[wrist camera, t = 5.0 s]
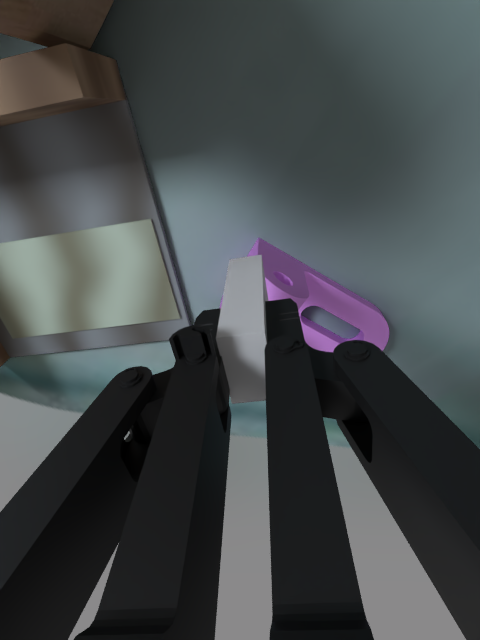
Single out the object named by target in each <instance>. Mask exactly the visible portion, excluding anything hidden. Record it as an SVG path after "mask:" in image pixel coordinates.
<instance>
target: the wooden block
mask: <svg viewBox="0 0 480 640" xmlns="http://www.w3.org/2000/svg"><path fill="white" fill-rule="evenodd" d="M113 2H114V0H0V33H2V34H5V35H9V36H12V37H16V38H19V39H22V40H26V41H29V42H33V43H36V44H40V45H43V46H47V47H52V46H56V45H60V44H64V43H67V44H70V45H73V46H76V47H79V48H82V49H85V50H89V49H90V48H91V46H92V44H93V42H94V40H95V38H96V36H97V34H98V32H99V30H100V28H101V26H102V24H103V22H104V20H105V18H106V16H107V14H108V12H109V10H110V8H111V6H112V4H113Z"/></svg>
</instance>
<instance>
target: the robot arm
mask: <svg viewBox="0 0 480 640" xmlns="http://www.w3.org/2000/svg"><path fill="white" fill-rule="evenodd" d="M169 341H170V344H171V347H172V350H173V353H174V356H175V359H176V362H175V365H174V367H173V368H171V369H169V370H167V371H164V372H161V373H158V374H155V375H152V372H151V370H149V369H148V368H147V367H142V366H139V367H132V368H128V369H126V370H124V371H122V372H120V373H119V374H117V375H116V376H115V377H114V378H113V379H112V380H111V381H110V383H109V384H108V385H107V386H106V387H105V389H104V390H103V391H102V392H101V393H100V394H99V396H98V397H97V398H96V399H95V400H94V402H93V403H92V404H91V405H90V406H89V408H88V409H87V410H86V411H85V412H84V413H83V415H82V416H81V417H80V418H79V419H78V421H77V422H76V423H75V424H74V425H73V427H72V428H71V429H70V430H69V431H68V432H67V434H66V435H65V436H64V437H63V438H62V440H61V441H60V442H59V443H58V444H57V446H56V447H55V448H54V449H53V450H52V451H51V453H50V454H49V455H48V456H47V457H46V459H45V460H44V461H43V462H42V464H41V465H40V466H39V467H38V468H37V469H36V471H35V472H34V473H33V474H32V475H31V476H30V478H29V479H28V480H27V481H26V482H25V484H24V485H23V486H22V487H21V488H20V489H19V491H18V492H17V493H16V494H15V495H14V497H13V498H12V499H11V500H10V501H9V503H8V504H7V505H6V506H5V507H4V509H3V510H2V511H1V512H0V640H68V638H69V636H70V634H71V632H72V630H73V628H74V627H75V625H76V623H77V621H78V619H79V617H80V615H81V613H82V611H83V609H84V608H85V606H86V604H87V602H88V600H89V598H90V596H91V594H92V592H93V590H94V589H95V587H96V585H97V583H98V581H99V579H100V577H101V575H102V573H103V571H104V570H105V568H106V566H107V564H108V562H109V560H110V558H111V556H112V554H113V552H114V550H115V548H116V547H117V545H118V543H119V545H118V548H117V551H116V554H115V558H114V560H113V564H112V567H111V570H110V573H109V577H108V580H107V583H106V587H105V589H104V592H103V596H102V599H101V603H100V606H99V609H98V612H97V614H96V616H95V619H94V621H93V622H92V624H91V626H90V627H89V628H87V629H86V630H85V631H83V632H81V633H80V634H78V635H77V636H76V637H75V638H74V640H214V639H215V626H216V612H217V599H218V586H219V573H220V572H219V571H220V560H221V546H222V533H223V520H224V506H225V492H226V479H227V465H228V453H229V440H230V427H231V411H230V407H229V394H230V397H231V401H232V404H234V403H244V402H254V401H264V400H266V415H267V447H268V478H269V511H270V541H271V575H272V603H273V604H272V605H273V607H272V608H273V609H272V610H273V616H272V625H271V629H270V640H374V638H373V635H372V632H371V629H370V626H369V625H368V622H367V620H366V616H365V612H364V608H363V604H362V599H361V595H360V590H359V585H358V581H357V576H356V571H355V567H354V562H353V558H352V553H351V548H350V543H349V538H348V534H347V529H346V524H345V519H344V515H343V510H342V506H341V501H340V496H339V492H338V487H337V483H336V477H335V473H334V468H333V463H332V459H331V454H330V449H329V444H328V440H327V435H326V430H325V426H324V421H323V417H326V418H332V419H336V420H337V424H338V426H339V427H340V429H341V431H342V432H343V434H344V436H345V437H346V439H347V441H348V442H349V444H350V446H351V447H352V449H353V451H354V452H355V454H356V456H357V457H358V459H359V461H360V462H361V464H362V466H363V467H364V469H365V471H366V472H367V474H368V476H369V478H370V479H371V481H372V482H373V484H374V486H375V487H376V489H377V491H378V493H379V494H380V496H381V497H382V499H383V501H384V503H385V504H386V506H387V507H388V509H389V511H390V513H391V514H392V516H393V518H394V519H395V521H396V523H397V524H398V526H399V528H400V529H401V531H402V533H403V534H404V536H405V538H406V539H407V541H408V543H409V544H410V546H411V548H412V549H413V551H414V553H415V554H416V556H417V558H418V559H419V561H420V563H421V564H422V566H423V568H424V570H425V571H426V573H427V575H428V576H429V578H430V579H431V581H432V583H433V585H434V586H435V588H436V590H437V591H438V593H439V595H440V596H441V598H442V600H443V601H444V603H445V605H446V606H447V608H448V610H449V611H450V613H451V615H452V616H453V618H454V620H455V621H456V623H457V625H458V626H459V628H460V630H461V631H462V633H463V635H464V636H465V638H466V640H480V449H479V448H478V447H477V446H476V445H475V444H474V443H473V442H472V441H471V440H470V439H469V438H468V437H467V436H466V435H465V434H464V433H463V432H462V431H461V430H460V429H459V428H458V427H457V426H456V425H455V424H454V423H453V422H452V421H451V420H450V419H449V418H448V417H447V416H446V415H445V414H444V413H443V412H442V411H441V410H440V409H439V408H438V407H437V406H436V405H435V404H434V403H433V402H432V401H431V400H430V399H429V398H428V397H427V396H426V395H425V394H424V393H423V392H422V391H421V390H420V389H419V388H418V387H417V386H416V385H415V384H414V383H413V382H412V381H411V380H410V379H409V378H408V377H407V376H406V375H405V374H404V373H403V372H402V371H401V370H400V369H399V368H398V367H397V366H396V365H395V364H394V363H393V362H392V361H391V360H390V359H389V357H388V356H387V355H386V354H385V353H384V352H383V351H382V350H381V349H380V348H379V347H377V346H376V345H374V344H373V343H370V342H367V341H363V340H350V341H345V342H343V343H340V344H339V345H337V346H336V347H335V348H334V351H333V352H325V351H319V350H316V349H314V348H312V347H310V346H309V345H308V344H307V343H306V342H305V339H304V335H303V330H302V325H301V321H300V316H299V311H298V306H297V303H296V302H294V301H293V300H292V299H291V298H287V299H280V300H273V301H268V294H267V288H266V281H265V274H264V267H263V261H262V255H255V256H249V257H242V258H236V259H229V265H228V271H227V277H226V283H225V288H224V294H223V300H222V306H221V308H220V309H212V310H205V311H202V312H201V314H200V315H199V316H198V317H197V318H196V321H195V324H194V325H192V326H188V327H184V328H182V329H180V330H178V331H176V332H175V333H174V334H172V336H171V337H170V338H169ZM128 431H130V434H129V436H128V437H127V438H126V440H124V437H125V436H126V434H127V433H128Z"/></svg>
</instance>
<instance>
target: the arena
mask: <svg viewBox="0 0 480 640" xmlns="http://www.w3.org/2000/svg"><path fill="white" fill-rule="evenodd" d="M188 326H191V323H190V320H189V316H188V313H187V309H186V306H185V302H184V299H183V295H182V291H181V288H180V284H179V281H178V277H177V274H176V270H175V267H174V263H173V260H172V256H171V252H170V249H169V245H168V242H167V238H166V235H165V231H164V228H163V224H162V221H161V217H160V213H159V210H158V206H157V203H156V199H155V196H154V192H153V189H152V185H151V182H150V178H149V174H148V171H147V167H146V164H145V160H144V157H143V153H142V150H141V146H140V143H139V139H138V135H137V132H136V128H135V125H134V121H133V118H132V114H131V111H130V107H129V104H128V100H127V96H126V93H125V89H124V86H123V82H122V79H121V75H120V72H119V68H118V65H117V61H116V60H115V59H112V58H109V57H106V56H103V55H100V54H97V53H94V52H91V51H88V50H85V49H82V48H79V47H76V46H73V45H70V44H67V43H64V44H60V45H56V46H52V47H48V48H43V49H39V50H35V51H31V52H27V53H23V54H19V55H15V56H11V57H7V58H3V59H0V367H1V366H2V365H3V364H4V363H5V362H6V361H7V360H8V359H9V358H11V357H20V356H29V355H38V354H47V353H56V352H65V351H74V350H83V349H92V348H101V347H110V346H119V345H128V344H137V343H146V342H155V341H164V340H169V338H170V337H171V336H172V334H174V333H175V332H176V331H178V330H180V329H182V328H184V327H188Z"/></svg>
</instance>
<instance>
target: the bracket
mask: <svg viewBox="0 0 480 640" xmlns="http://www.w3.org/2000/svg"><path fill="white" fill-rule="evenodd" d="M255 255H262V261H263V267H264V274H265V281H266V288H267V294H268V301H273V300H280V299H287V298H291V299H292V300H293V301H294V302H296V303H297V306H298V311H299V316H300V321H301V325H302V330H303V335H304V339H305V342H306V343H307V344H308V345H309V346H310V347H312V348H314V349H316V350H319V351H325V352H333V351H334V348H335V347H336V346H337V345H339V344H340V343H343V342H345V341H350V340H363V341H367V342H370V343H373V344H374V345H376V346H377V347H379V348H380V349H381V350H382V351H383V350H384V348H385V346H386V345H387V342H388V339H389V327H388V324H387V322H386V320H385V318H384V316H383V315H382V313H381V311H380V310H379V309H378V308H377V307H376V306H375V305H373V304H372V303H370V302H369V301H367V300H365V299H363V298H362V297H360V296H358V295H357V294H355V293H353V292H351V291H350V290H348V289H346V288H345V287H343V286H341V285H339V284H338V283H336V282H334V281H333V280H331V279H329V278H327V277H326V276H324V275H322V274H321V273H319V272H317V271H315V270H314V269H312V268H310V267H309V266H307V265H305V264H303V263H302V262H300V261H298V260H297V259H295V258H293V257H291V256H290V255H288V254H286V253H285V252H283V251H281V250H280V249H278V248H276V247H274V246H273V245H271V244H269V243H268V242H266V241H264V240H262V239H261V238H258V239H257V241H256V243H255V244H254V246H253V247H252V249H251V251H250V252H249V254H248V256H247V257H249V256H255ZM222 300H223V296H222V299H221V304H220V308H221V306H222ZM309 306H319V307H321V308H322V309H324V310H326V311H328V312H330V313H331V314H333V315H335V316H337V317H339V318H340V319H342V320H344V321H346V322H347V323H349V324H351V325H353V326H355V327H356V328H358V329H360V332H359V334H358V335H357V336H355V337H354V338H351V339H345V338H342V337H340V336H338V335H336V334H334V333H333V332H331V331H329V330H327V329H325V328H324V327H322V326H320V325H318V324H316V323H314V322H313V321H311V320H309V319H307V318H305V317H303V316H302V315H301V313H302V311H303V310H304V309H305V308H306V307H309ZM220 308H219V309H220Z"/></svg>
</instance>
